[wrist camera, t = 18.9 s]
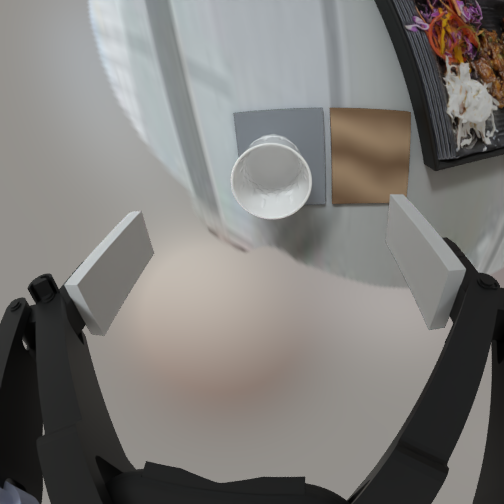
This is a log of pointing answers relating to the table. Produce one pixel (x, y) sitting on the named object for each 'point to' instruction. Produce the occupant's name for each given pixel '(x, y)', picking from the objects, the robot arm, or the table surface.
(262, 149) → the white cup
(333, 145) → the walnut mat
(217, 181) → the table surface
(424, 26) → the food platter
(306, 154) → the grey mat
